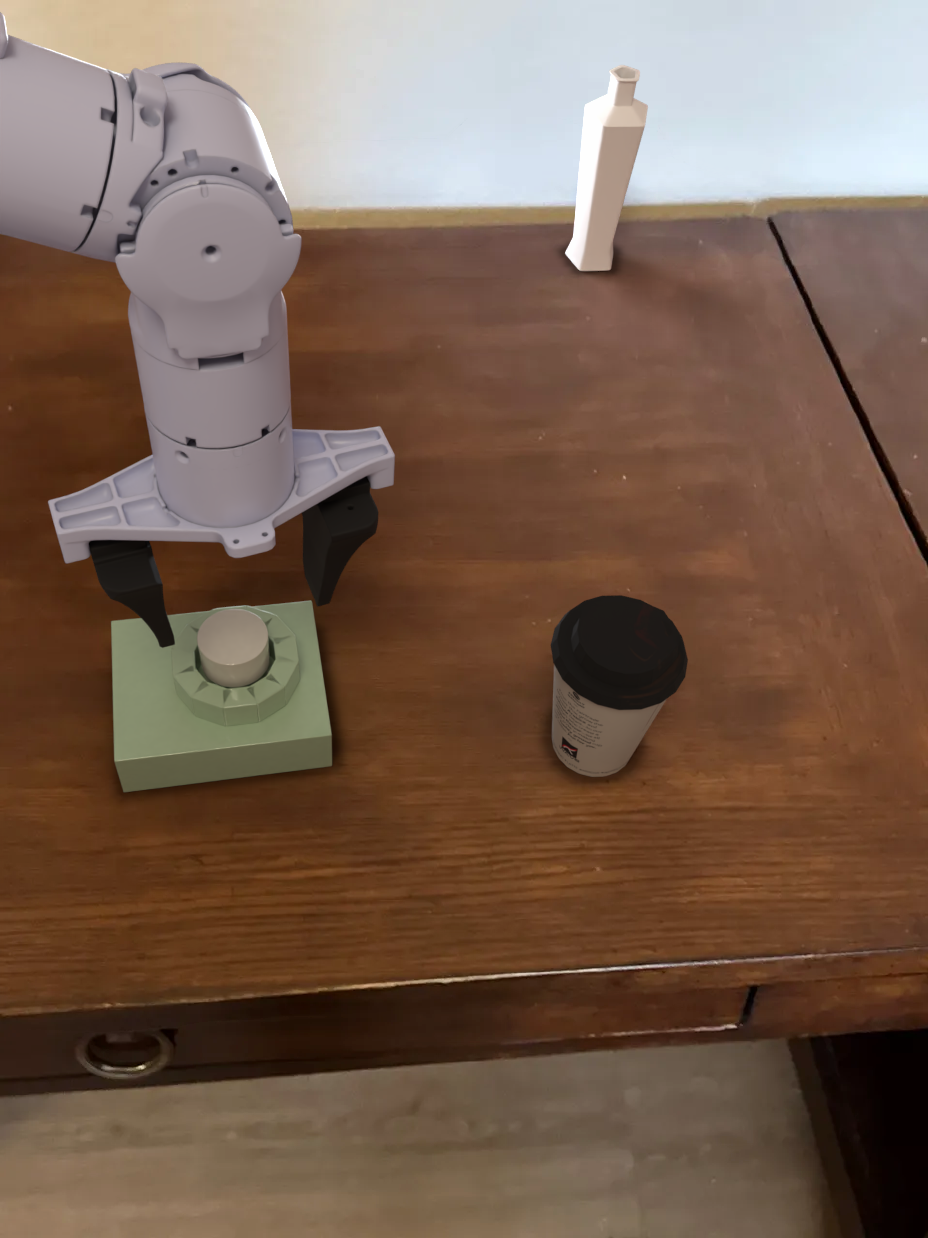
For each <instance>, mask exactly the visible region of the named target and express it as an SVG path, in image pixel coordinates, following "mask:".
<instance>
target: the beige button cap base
mask: <svg viewBox="0 0 928 1238" xmlns="http://www.w3.org/2000/svg"><path fill="white" fill-rule="evenodd" d="M228 609H241V610H246V611H249V612H252V613H253V614H255V615H257V616H258V617H259V618H260V619H261V620H262V621H263V622H264V623H265V625H266V627H267V630H268V638H269V650H270V663H269V666H268V668H267V670H266V672H265V673H264V674H263V675H262V677H260V678H259V679H258V680H257V681H255V682H253V683H251V684H249V685H246V686H242V687H225V686H221V685H218V684H216V683H214V682H213V681H211V680H210V679H209V678H208V677H207V676H206V675H205V674H204V672H203V670H202V667H201V662H200V656H199V650H198V644H197V634H198V631H199V629H200V627H201V625H202V624H203V622H204V621H205V620H206V619H207V618H209V617H210V616H212V615H213V614H215V613H217V612H220V611H223V610H228ZM167 616H168V619H169V622H170V625H171V628H172V631H173V635H174V640H175V645H171V646H168V647H164V648H162V647H160V646H159V643H158V640H157V638H156V636H155V635H154V633H153V632H152V630H151V629H150V628H149V626H148V625H147V624H146V623H145V622H144V621H143V620H142V618H141V617H138V618H126V619H117V620H111V621H110V636H111V638H110V641H111V680H112V682H111V684H112V685H111V687H112V721H113V722H112V725H113V727H112V728H113V729H112V730H113V762H114V765H115V769H116V772H117V775H118V778H119V782H120V786H121V789H122V792H123V793H129V792H138V791H139V792H140V791H145V790H155V789H163V788H169V787H177V786H179V787H180V786H187V785H195V784H201V783H209V782H217V781H218V782H219V781H225V780H234V779H241V778H250V777H258V776H266V775H272V774H273V775H274V774H280V773H281V774H282V773H288V772H297V771H305V770H314V769H320V768H321V769H322V768H329V767H332V766H333V734H332V726H331V719H330V712H329V707H328V699H327V693H326V687H325V679H324V673H323V666H322V659H321V653H320V646H319V645H320V644H319V639H318V632H317V625H316V618H315V612H314V605H313V601H312V600H304V601H294V602H285V603H273V604H265V605H255V606H251V605H245V604H243V605H236V606H235V605H233V606H226V607H225V606H224V607H216V608H212V609H210V610H207V611H206V610H205V611H195V612H187V613H185V612H184V613H175V614H167Z"/></svg>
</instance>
